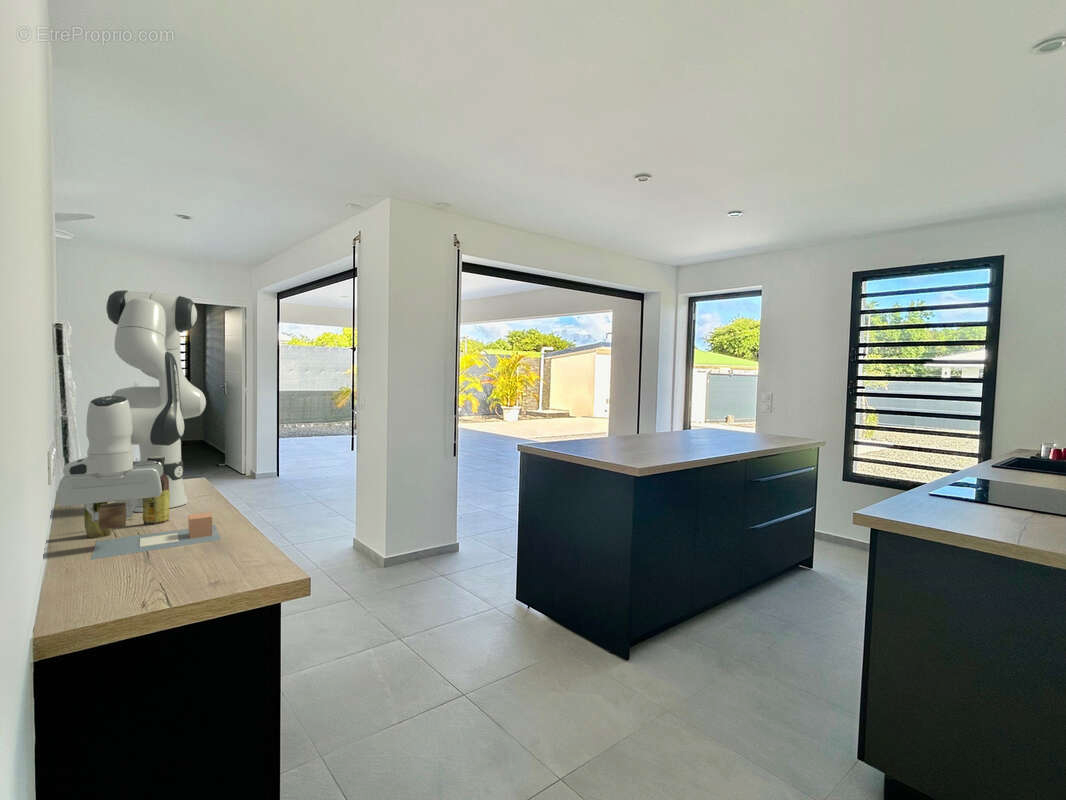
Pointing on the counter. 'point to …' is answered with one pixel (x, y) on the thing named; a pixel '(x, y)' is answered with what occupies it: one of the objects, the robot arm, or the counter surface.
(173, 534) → the build board
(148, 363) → the robot arm
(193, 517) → the terracotta block
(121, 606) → the counter surface
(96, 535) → the fennel bulb
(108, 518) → the walnut block
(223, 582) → the counter surface
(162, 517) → the sauce bottle
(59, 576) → the counter surface
